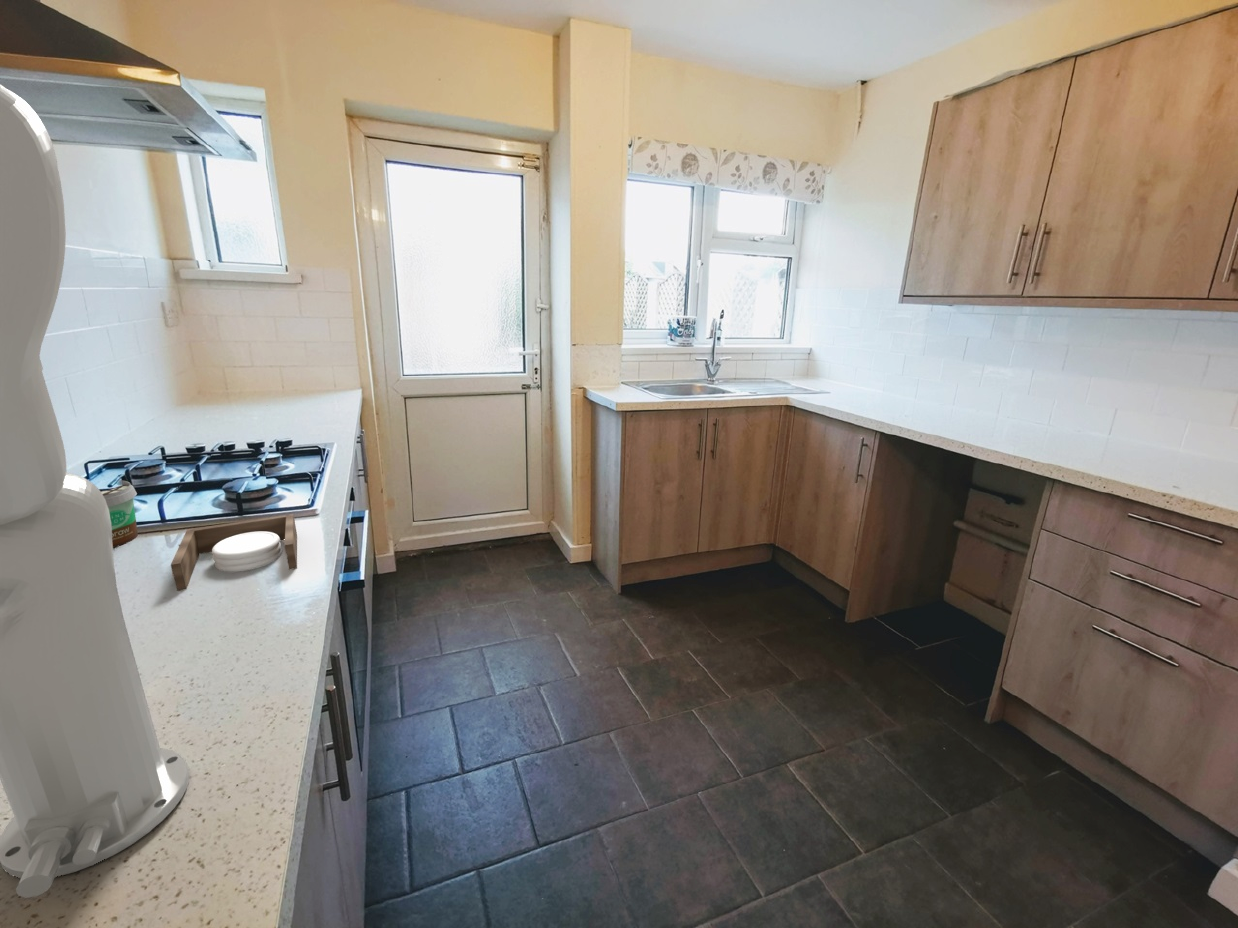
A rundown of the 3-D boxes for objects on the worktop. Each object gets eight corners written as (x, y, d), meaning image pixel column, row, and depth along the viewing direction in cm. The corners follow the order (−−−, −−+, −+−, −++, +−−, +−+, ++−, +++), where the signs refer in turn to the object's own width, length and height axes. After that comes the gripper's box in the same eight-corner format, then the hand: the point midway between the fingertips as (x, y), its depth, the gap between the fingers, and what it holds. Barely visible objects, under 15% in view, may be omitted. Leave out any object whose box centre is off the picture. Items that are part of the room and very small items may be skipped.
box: (297, 568, 95) (292, 543, 94) (177, 590, 87) (170, 564, 86) (297, 535, 108) (293, 513, 106) (192, 552, 100) (186, 529, 99)
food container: (95, 558, 98) (79, 504, 95) (67, 555, 99) (51, 501, 96) (163, 530, 109) (151, 482, 106) (137, 527, 111) (125, 479, 108)
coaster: (285, 544, 105) (282, 526, 104) (279, 566, 96) (276, 547, 95) (221, 553, 101) (217, 535, 100) (209, 578, 92) (205, 558, 91)
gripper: (-30, 263, 50) (30, 461, 55) (39, 270, 63) (83, 431, 68) (-157, 260, 47) (-80, 471, 52) (-56, 269, 59) (-2, 437, 65)
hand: (12, 448), depth 60 cm, fingers closed
